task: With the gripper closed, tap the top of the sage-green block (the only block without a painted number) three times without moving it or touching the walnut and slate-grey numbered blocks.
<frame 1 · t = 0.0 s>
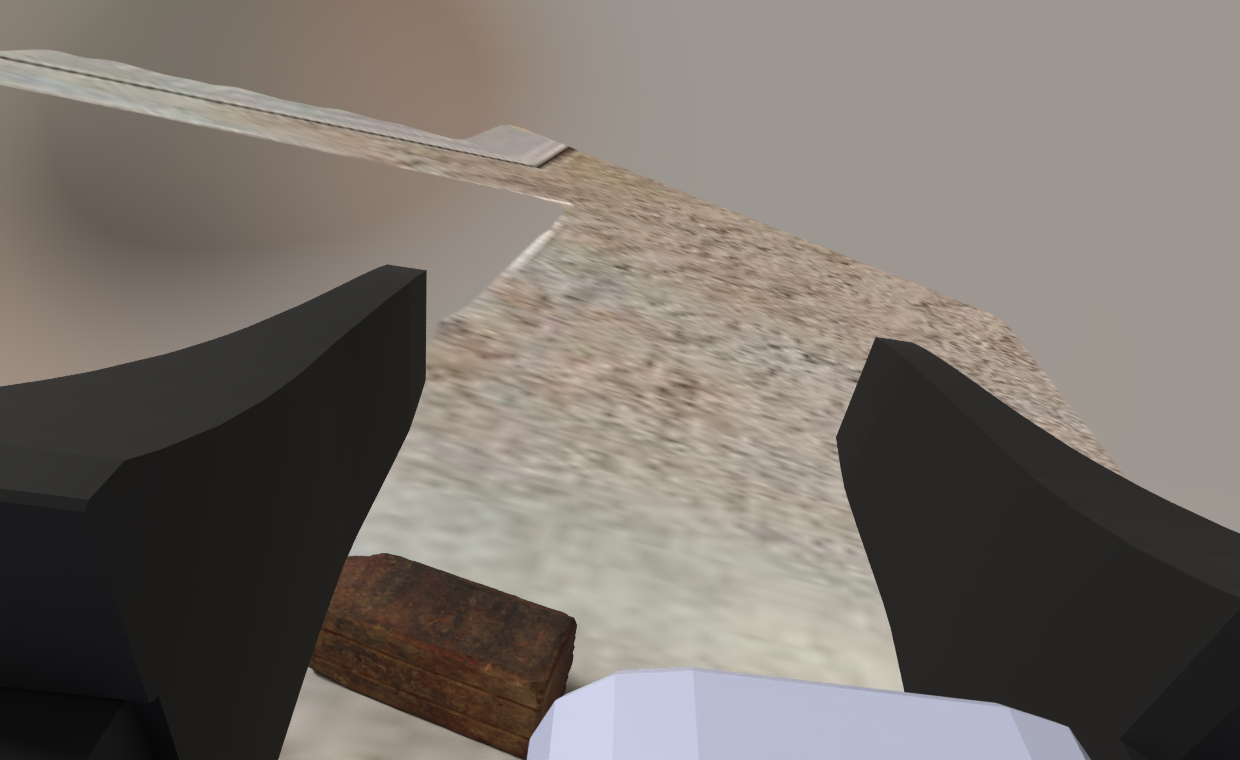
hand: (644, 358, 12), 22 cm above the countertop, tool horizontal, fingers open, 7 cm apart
brick: (436, 686, 31), on the countertop
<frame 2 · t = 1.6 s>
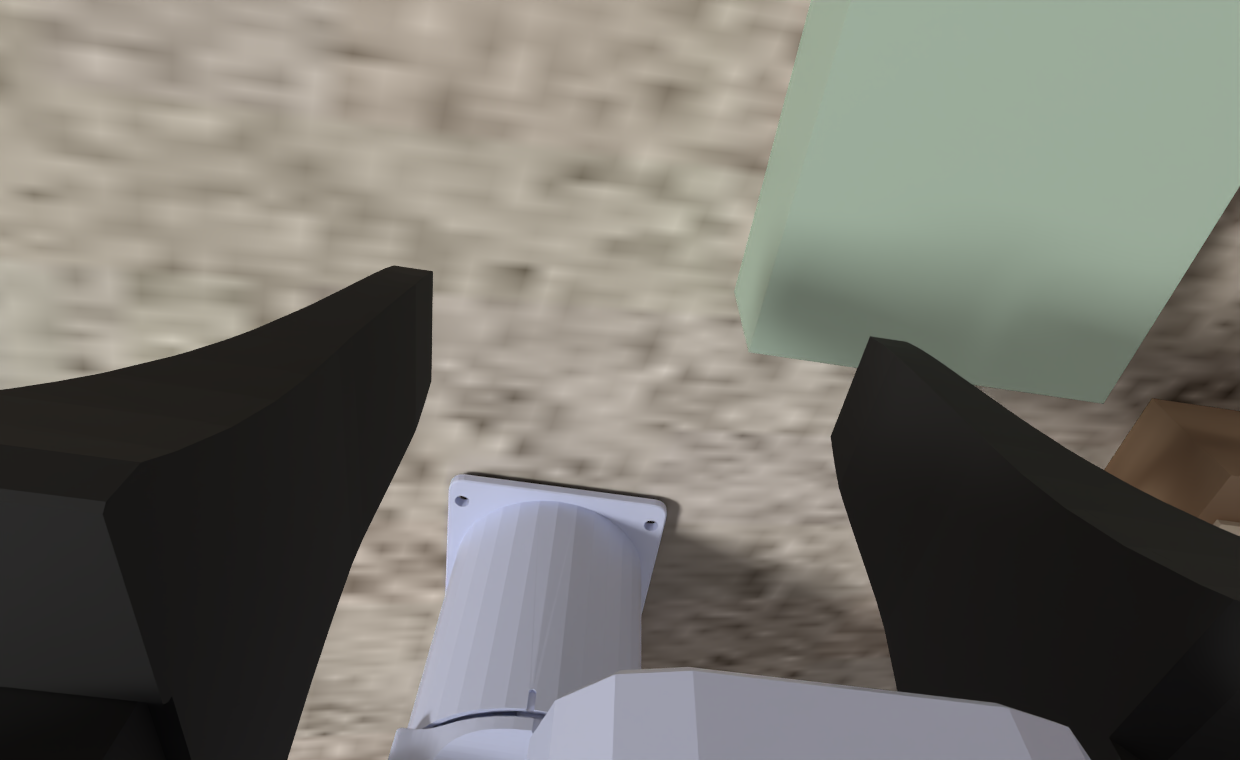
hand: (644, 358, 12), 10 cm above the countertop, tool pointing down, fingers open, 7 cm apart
sage block: (949, 153, 21), on the countertop
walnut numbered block: (1173, 451, 26), on the countertop
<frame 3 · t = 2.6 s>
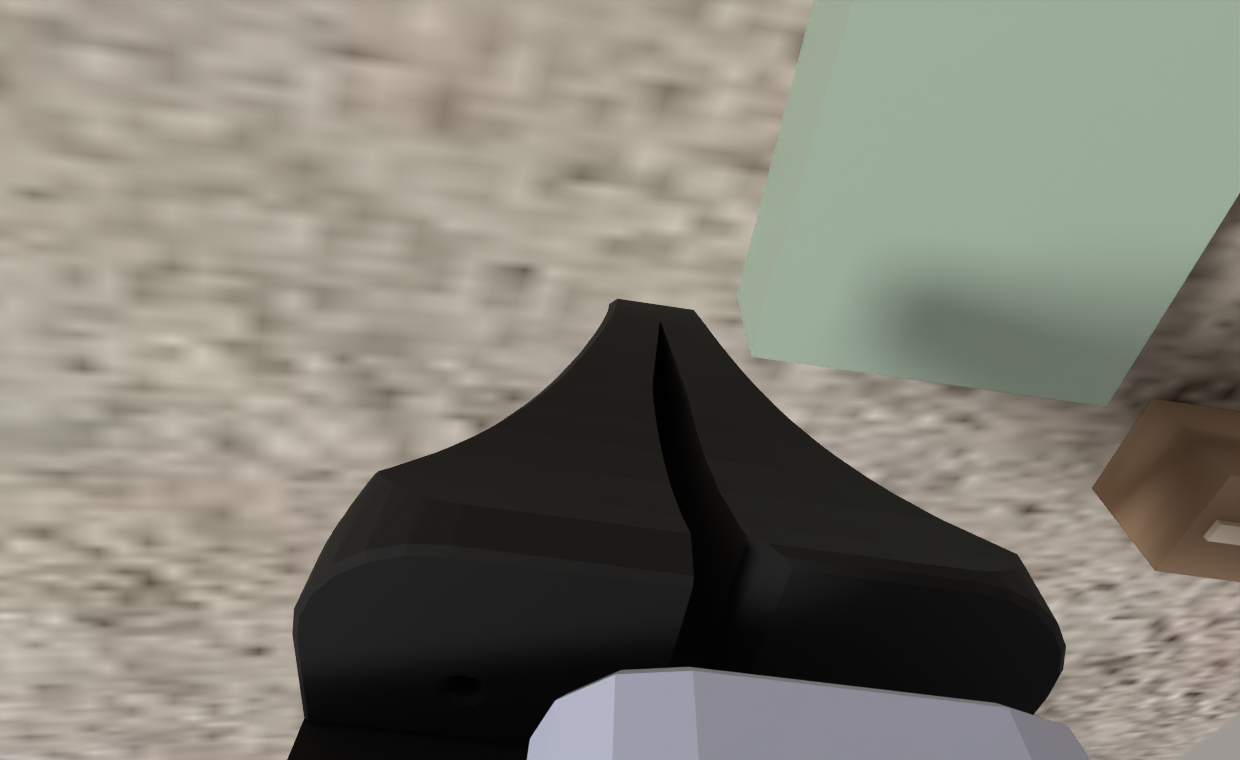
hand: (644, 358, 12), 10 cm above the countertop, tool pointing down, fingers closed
sage block: (951, 156, 21), on the countertop
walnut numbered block: (1173, 451, 26), on the countertop
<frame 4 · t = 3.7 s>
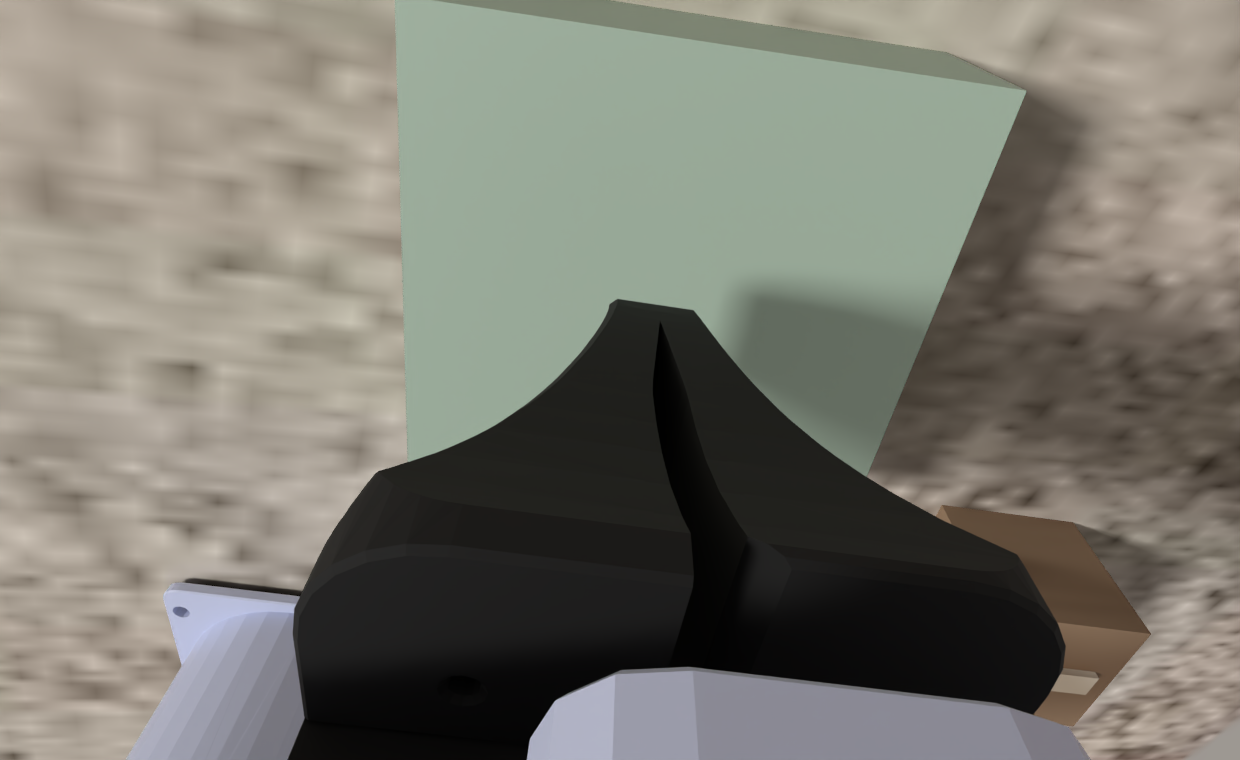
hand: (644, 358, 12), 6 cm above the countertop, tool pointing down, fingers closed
sage block: (659, 243, 17), on the countertop
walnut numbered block: (978, 559, 23), on the countertop
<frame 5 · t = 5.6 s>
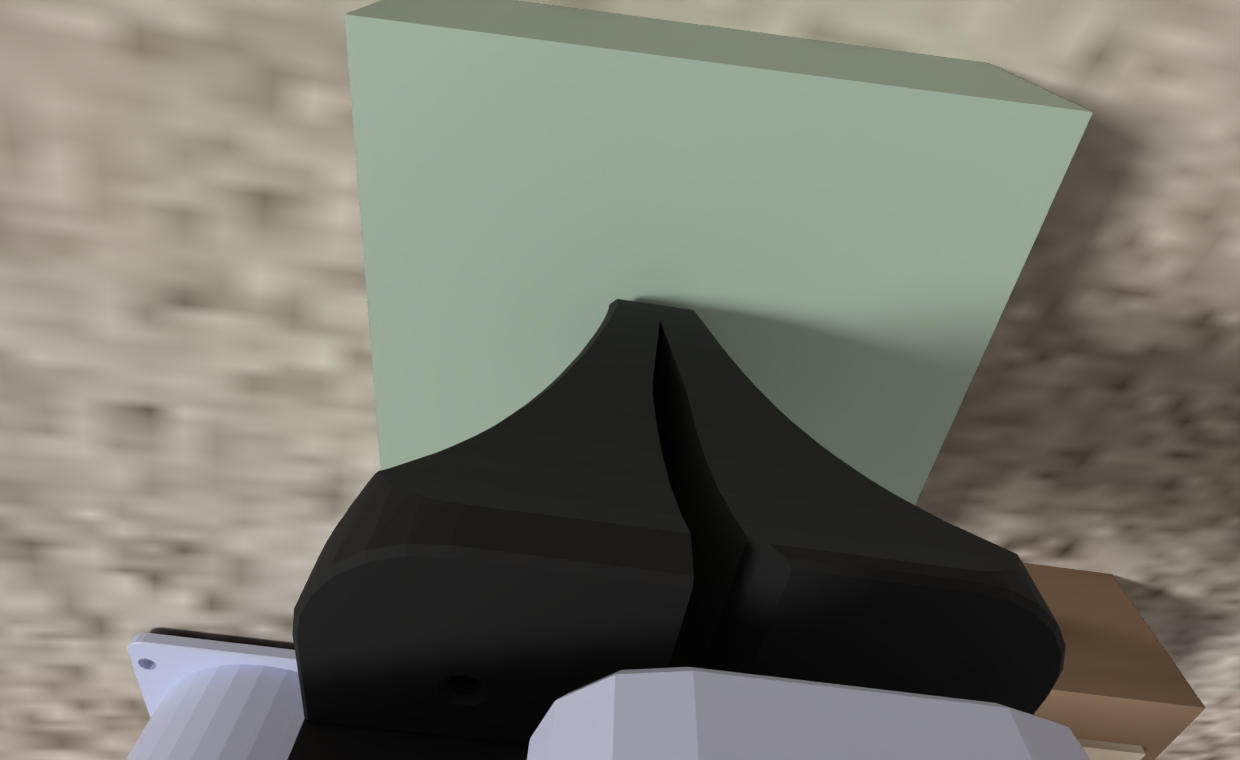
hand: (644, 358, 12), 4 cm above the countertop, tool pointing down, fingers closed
sage block: (663, 278, 16), on the countertop
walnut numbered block: (1007, 611, 21), on the countertop
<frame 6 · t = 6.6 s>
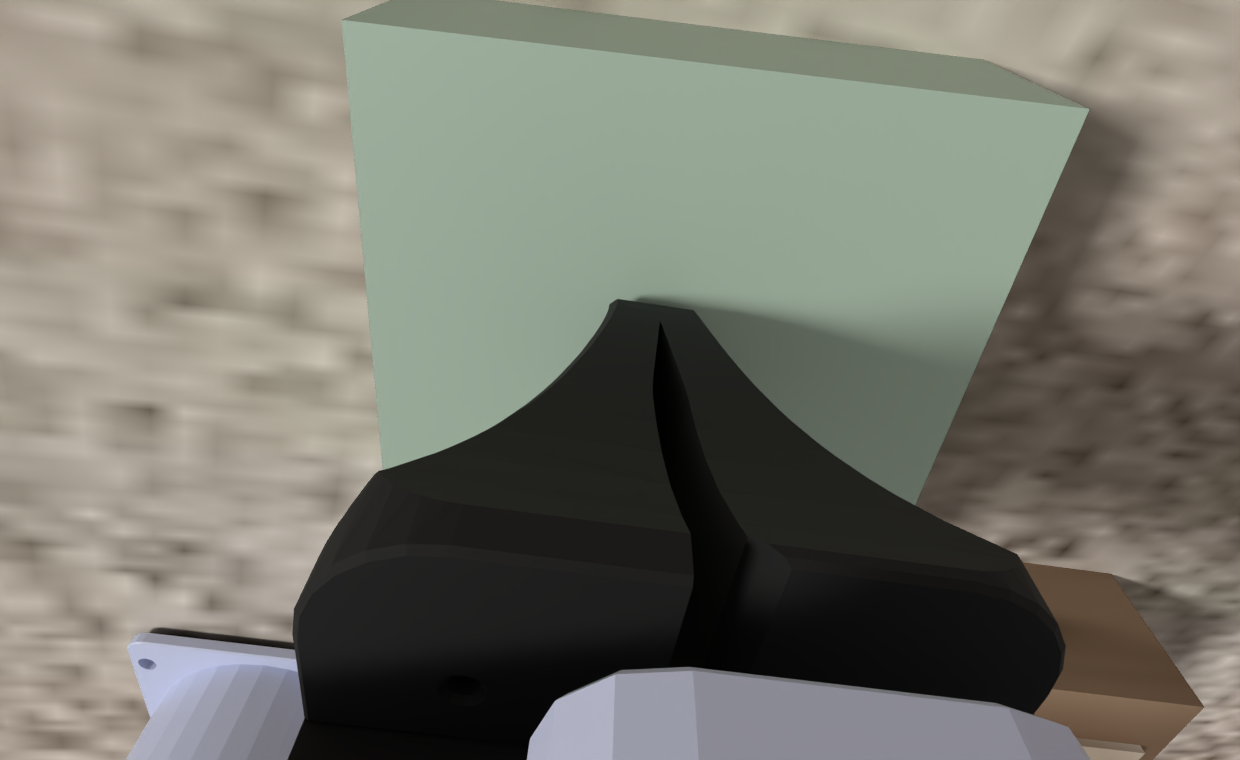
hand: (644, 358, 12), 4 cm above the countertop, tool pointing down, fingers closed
sage block: (663, 278, 16), on the countertop
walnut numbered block: (1006, 611, 21), on the countertop
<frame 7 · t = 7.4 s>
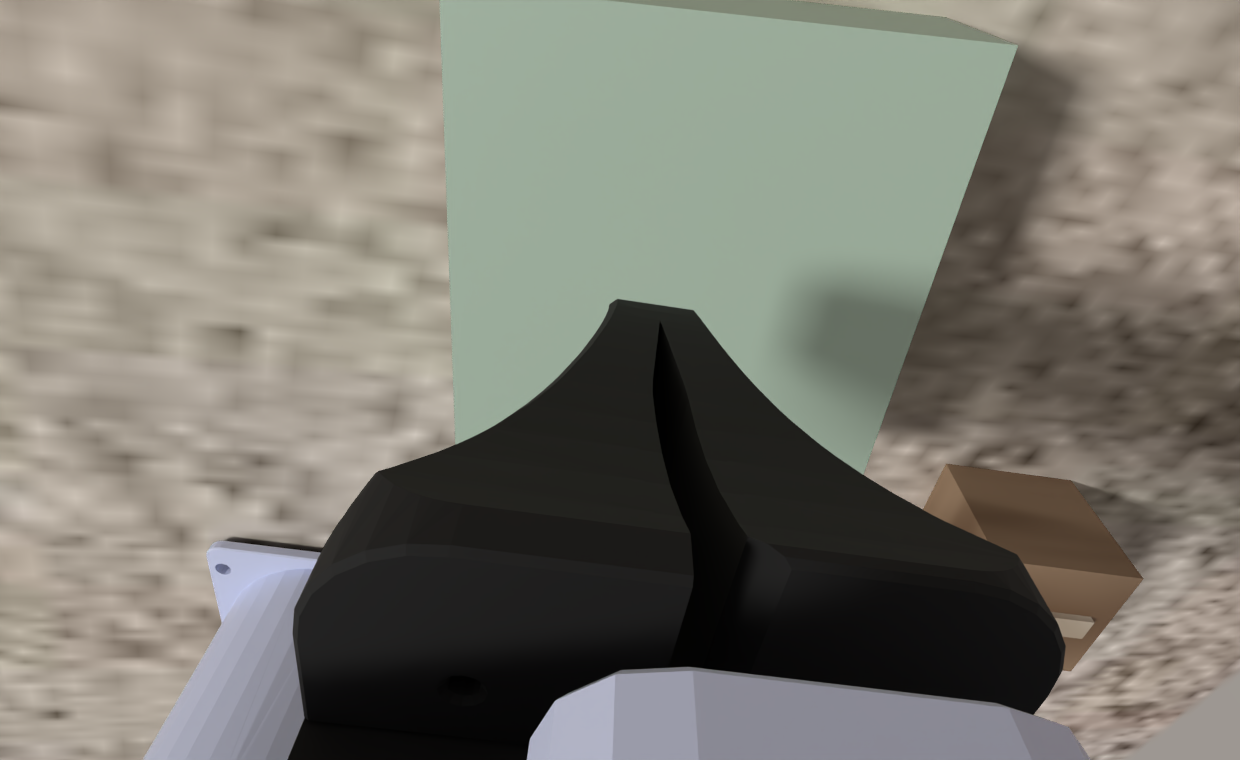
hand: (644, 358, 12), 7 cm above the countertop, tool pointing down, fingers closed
sage block: (681, 211, 19), on the countertop
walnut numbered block: (981, 517, 24), on the countertop
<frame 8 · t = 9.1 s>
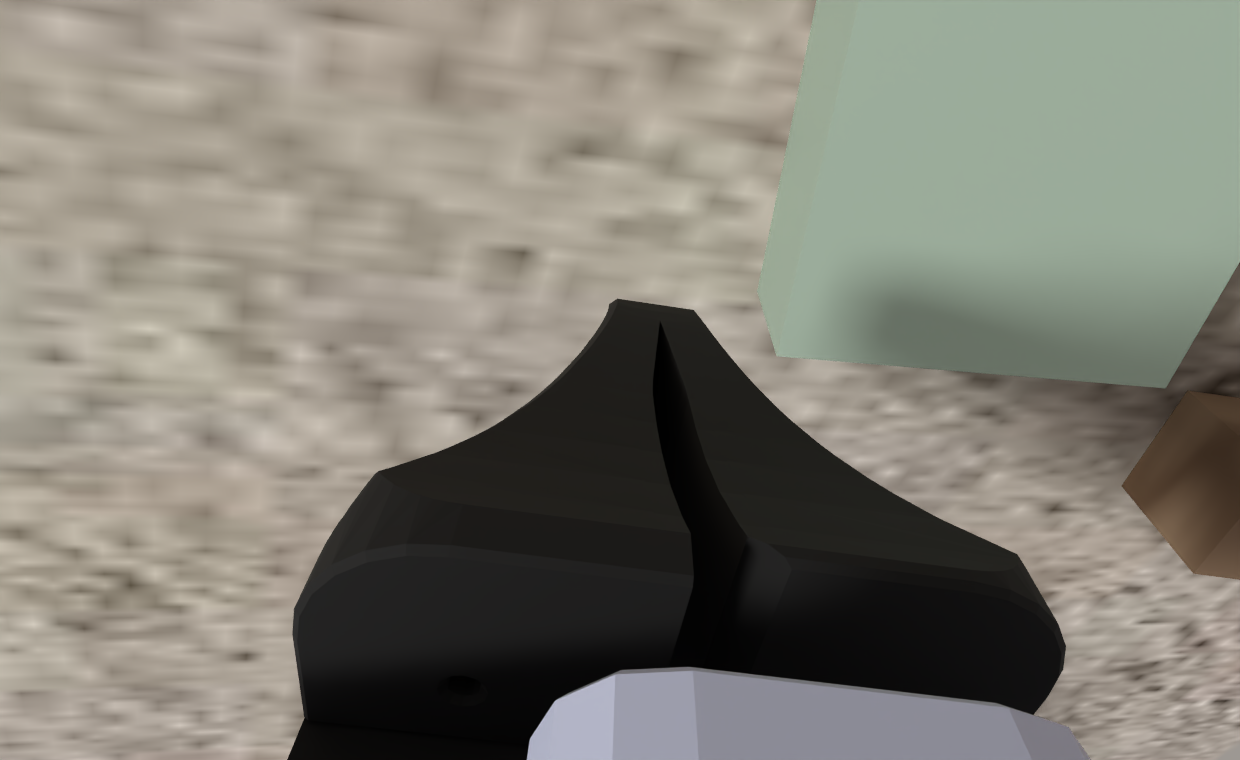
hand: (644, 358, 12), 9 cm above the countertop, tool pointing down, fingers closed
sage block: (980, 130, 19), on the countertop
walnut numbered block: (1208, 446, 24), on the countertop
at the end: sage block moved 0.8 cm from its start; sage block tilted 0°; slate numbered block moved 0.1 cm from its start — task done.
